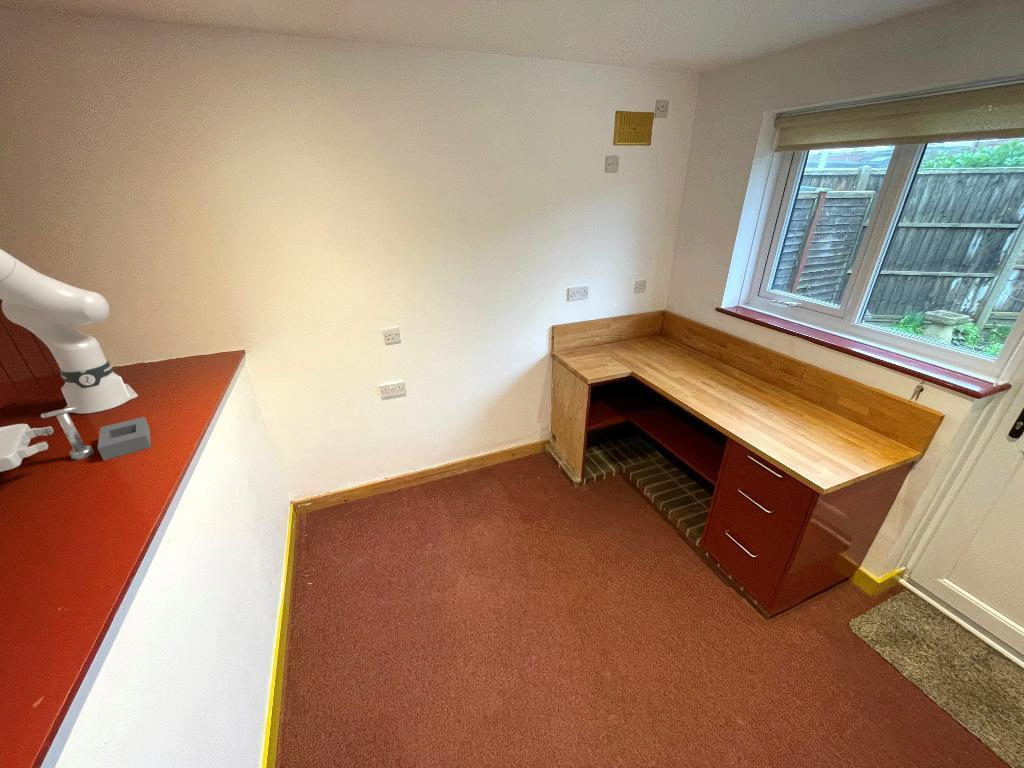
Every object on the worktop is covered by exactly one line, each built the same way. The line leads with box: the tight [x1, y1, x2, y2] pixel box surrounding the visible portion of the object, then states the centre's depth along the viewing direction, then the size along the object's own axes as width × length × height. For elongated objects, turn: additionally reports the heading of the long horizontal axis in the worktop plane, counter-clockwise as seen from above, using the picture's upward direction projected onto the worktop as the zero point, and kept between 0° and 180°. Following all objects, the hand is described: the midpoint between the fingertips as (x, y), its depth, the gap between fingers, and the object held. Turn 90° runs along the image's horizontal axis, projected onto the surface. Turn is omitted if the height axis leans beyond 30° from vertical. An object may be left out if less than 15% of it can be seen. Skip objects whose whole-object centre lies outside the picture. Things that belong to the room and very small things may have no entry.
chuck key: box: [40, 406, 95, 461], centre depth 111 cm, size 4×7×14 cm
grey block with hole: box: [97, 416, 152, 461], centre depth 119 cm, size 14×10×4 cm
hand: (49, 437), depth 109 cm, fingers open, 8 cm apart
